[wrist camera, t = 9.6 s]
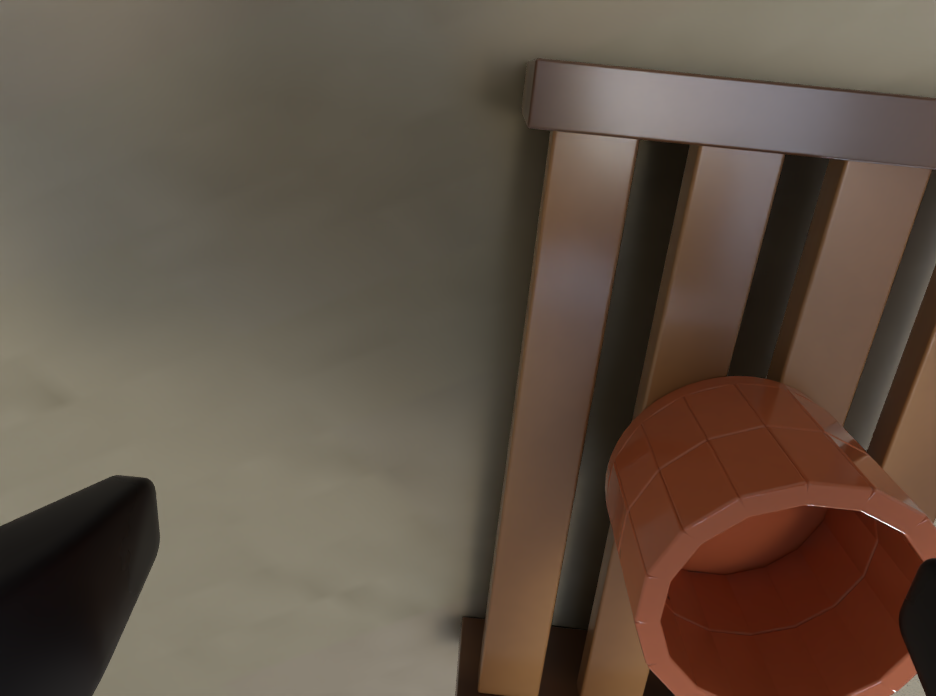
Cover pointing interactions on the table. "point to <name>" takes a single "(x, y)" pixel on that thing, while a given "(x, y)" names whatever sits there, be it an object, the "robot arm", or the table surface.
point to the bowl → (762, 545)
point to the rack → (690, 318)
